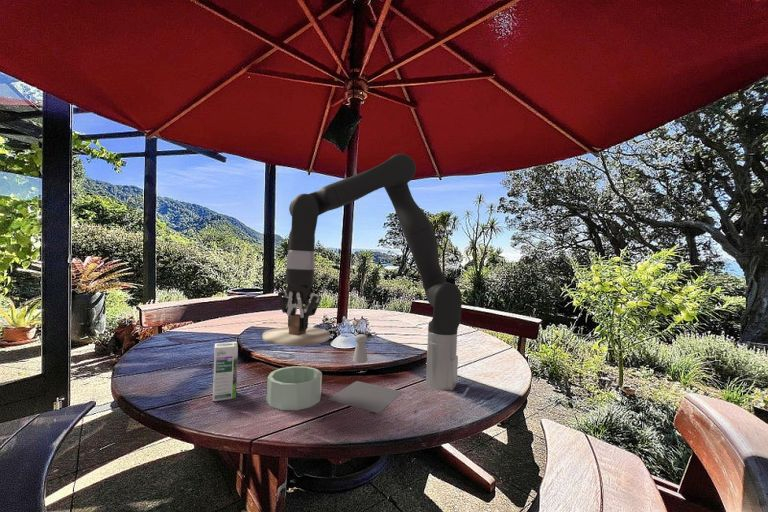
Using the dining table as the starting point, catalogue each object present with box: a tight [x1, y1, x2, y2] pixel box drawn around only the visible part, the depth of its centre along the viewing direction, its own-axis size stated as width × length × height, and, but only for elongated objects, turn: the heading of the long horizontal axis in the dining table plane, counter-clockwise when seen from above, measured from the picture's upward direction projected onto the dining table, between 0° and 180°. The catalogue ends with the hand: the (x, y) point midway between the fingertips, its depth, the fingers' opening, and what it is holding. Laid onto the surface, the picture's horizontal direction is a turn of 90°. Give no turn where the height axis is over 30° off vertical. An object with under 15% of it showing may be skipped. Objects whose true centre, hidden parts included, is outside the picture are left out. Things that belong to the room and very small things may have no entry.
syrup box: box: [212, 341, 239, 402], centre depth 92 cm, size 6×6×14 cm
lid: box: [261, 313, 331, 347], centre depth 91 cm, size 18×18×6 cm
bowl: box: [266, 365, 323, 411], centre depth 91 cm, size 14×14×7 cm
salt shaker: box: [352, 333, 369, 374], centre depth 115 cm, size 6×6×13 cm
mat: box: [326, 380, 403, 414], centre depth 95 cm, size 16×16×1 cm
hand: (297, 329), depth 91 cm, fingers closed on lid, 3 cm apart
